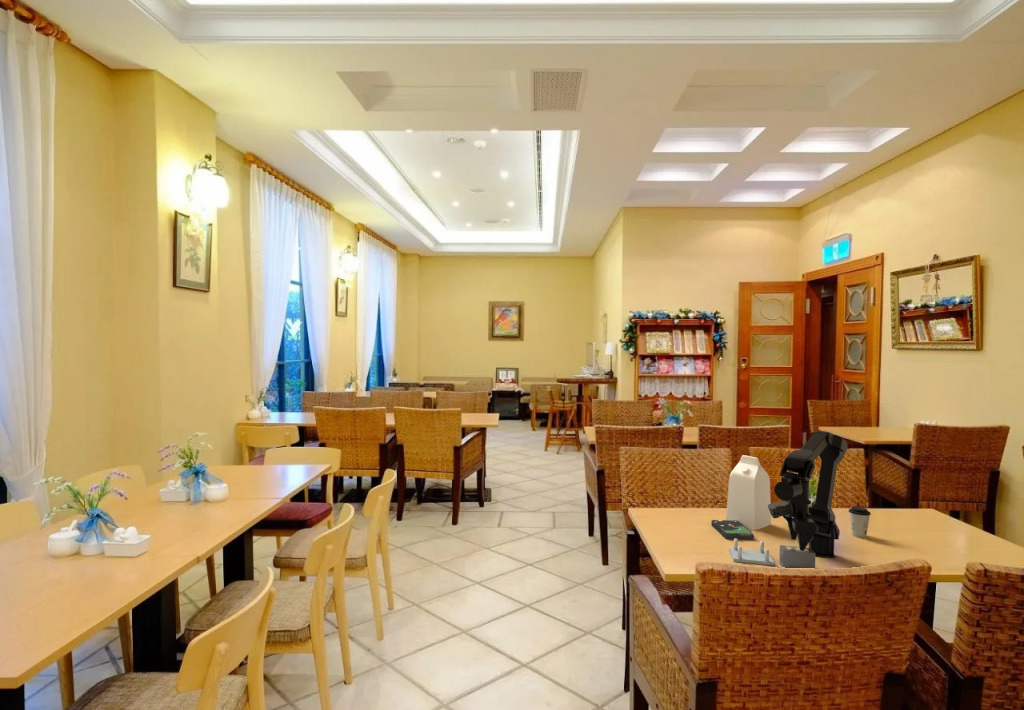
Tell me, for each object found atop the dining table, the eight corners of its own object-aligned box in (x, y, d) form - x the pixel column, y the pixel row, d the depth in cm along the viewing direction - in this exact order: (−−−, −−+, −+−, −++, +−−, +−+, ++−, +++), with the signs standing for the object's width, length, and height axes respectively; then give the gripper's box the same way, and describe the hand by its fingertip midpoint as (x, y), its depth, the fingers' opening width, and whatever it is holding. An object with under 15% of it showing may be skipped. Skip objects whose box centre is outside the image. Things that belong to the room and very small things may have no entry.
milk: (771, 524, 208) (772, 457, 207) (754, 530, 201) (755, 461, 201) (742, 516, 218) (744, 452, 217) (725, 521, 211) (727, 455, 211)
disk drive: (710, 527, 206) (725, 540, 191) (710, 519, 206) (725, 532, 191) (737, 527, 206) (754, 540, 191) (737, 520, 206) (754, 533, 191)
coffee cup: (873, 539, 193) (874, 512, 193) (852, 538, 194) (853, 510, 194) (865, 533, 200) (865, 506, 199) (844, 531, 201) (845, 505, 201)
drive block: (810, 567, 168) (811, 547, 168) (815, 572, 164) (815, 553, 164) (779, 563, 170) (779, 544, 170) (782, 569, 166) (783, 550, 166)
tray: (767, 554, 177) (767, 541, 177) (774, 565, 169) (774, 551, 168) (728, 551, 180) (729, 537, 180) (733, 561, 171) (733, 547, 171)
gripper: (763, 485, 178) (762, 532, 178) (777, 501, 160) (776, 553, 160) (800, 488, 175) (799, 535, 175) (819, 504, 157) (818, 557, 157)
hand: (797, 544), depth 167 cm, fingers open, 9 cm apart
